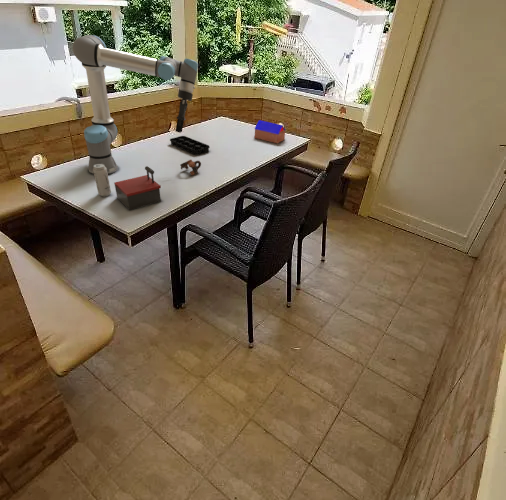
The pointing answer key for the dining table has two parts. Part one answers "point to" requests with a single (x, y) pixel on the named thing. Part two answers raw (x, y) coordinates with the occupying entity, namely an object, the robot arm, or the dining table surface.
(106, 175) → the energy drink can
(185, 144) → the egg carton
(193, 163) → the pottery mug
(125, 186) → the lid
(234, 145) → the dining table surface
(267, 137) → the house
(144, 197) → the dark gray box
